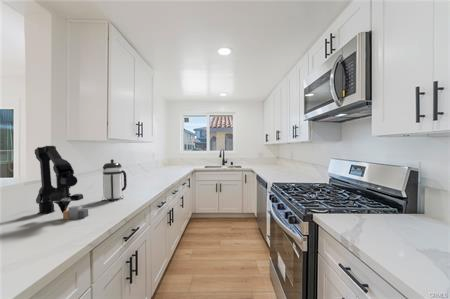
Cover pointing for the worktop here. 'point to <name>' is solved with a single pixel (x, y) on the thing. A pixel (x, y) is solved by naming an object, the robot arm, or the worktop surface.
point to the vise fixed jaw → (82, 213)
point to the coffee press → (113, 180)
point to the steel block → (74, 211)
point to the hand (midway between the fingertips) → (63, 213)
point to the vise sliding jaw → (66, 214)
